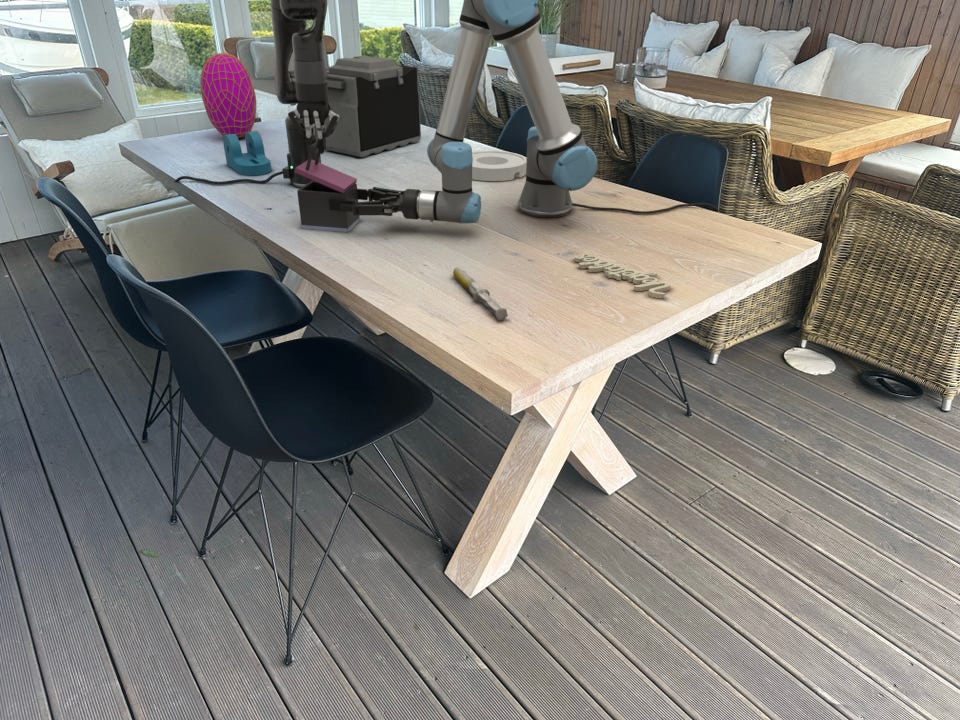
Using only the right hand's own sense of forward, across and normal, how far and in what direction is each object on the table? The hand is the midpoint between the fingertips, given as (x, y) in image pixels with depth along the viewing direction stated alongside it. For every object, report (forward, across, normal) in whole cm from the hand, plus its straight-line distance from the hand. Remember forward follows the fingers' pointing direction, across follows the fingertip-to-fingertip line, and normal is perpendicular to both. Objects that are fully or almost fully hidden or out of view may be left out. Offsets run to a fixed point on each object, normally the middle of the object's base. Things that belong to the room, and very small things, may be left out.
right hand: (336, 198), depth 179 cm
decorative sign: (-75, -18, -7) cm, 77 cm away
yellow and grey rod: (-45, -36, -7) cm, 58 cm away
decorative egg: (+76, +86, -7) cm, 114 cm away
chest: (+2, 0, -7) cm, 8 cm away
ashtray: (-30, +61, -7) cm, 68 cm away
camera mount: (+49, +46, -7) cm, 67 cm away
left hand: (+4, 0, +12) cm, 12 cm away
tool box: (+20, +86, -7) cm, 88 cm away
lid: (+2, 0, +5) cm, 6 cm away
